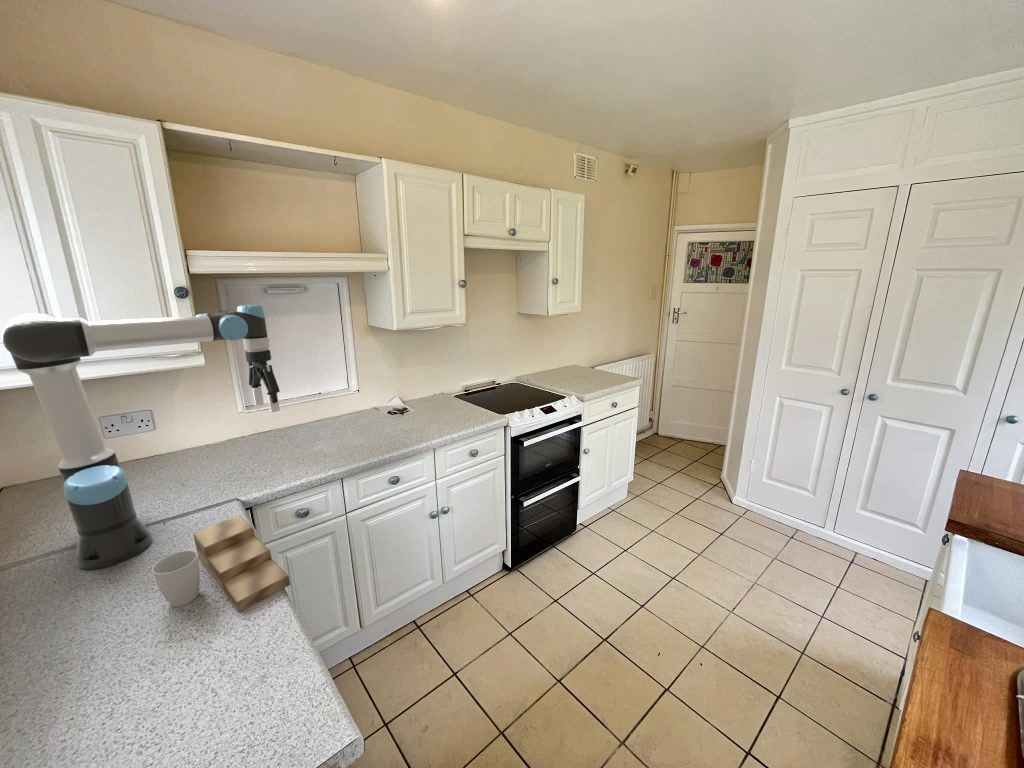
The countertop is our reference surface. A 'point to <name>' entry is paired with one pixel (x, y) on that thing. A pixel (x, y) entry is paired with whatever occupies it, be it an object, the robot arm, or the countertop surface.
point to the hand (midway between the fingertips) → (267, 408)
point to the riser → (239, 562)
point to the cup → (178, 577)
